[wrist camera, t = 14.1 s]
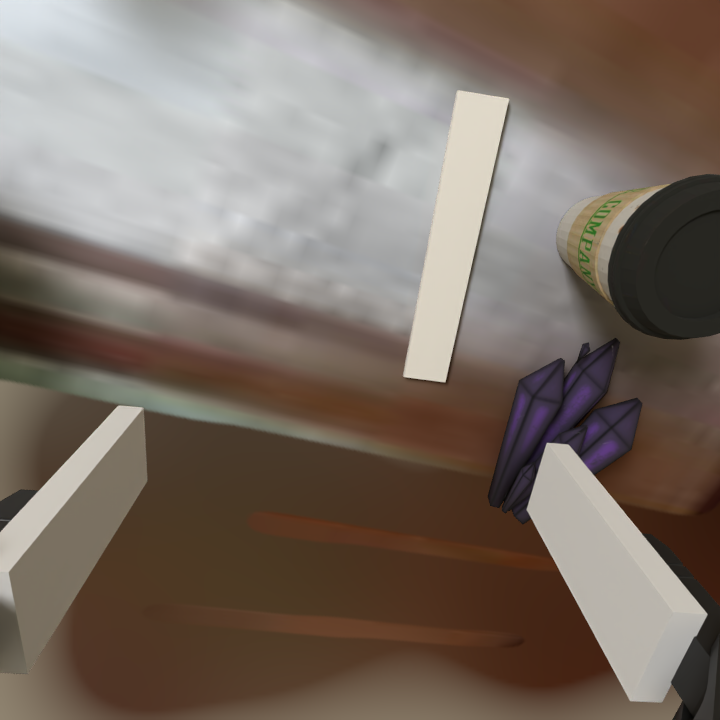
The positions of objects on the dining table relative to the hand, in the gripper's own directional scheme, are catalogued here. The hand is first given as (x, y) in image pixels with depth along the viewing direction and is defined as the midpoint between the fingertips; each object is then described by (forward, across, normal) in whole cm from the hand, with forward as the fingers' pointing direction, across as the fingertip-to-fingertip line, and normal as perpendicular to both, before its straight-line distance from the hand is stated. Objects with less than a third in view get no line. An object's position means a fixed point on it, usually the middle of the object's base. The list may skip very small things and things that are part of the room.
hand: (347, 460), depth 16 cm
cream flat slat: (+28, -9, -3) cm, 30 cm away
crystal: (+28, -22, +12) cm, 38 cm away
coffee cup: (+28, -21, -6) cm, 36 cm away
